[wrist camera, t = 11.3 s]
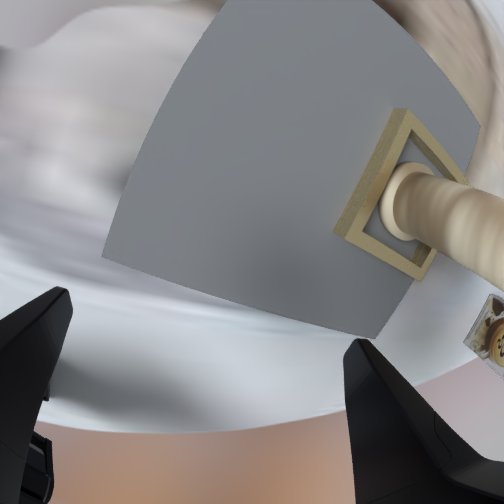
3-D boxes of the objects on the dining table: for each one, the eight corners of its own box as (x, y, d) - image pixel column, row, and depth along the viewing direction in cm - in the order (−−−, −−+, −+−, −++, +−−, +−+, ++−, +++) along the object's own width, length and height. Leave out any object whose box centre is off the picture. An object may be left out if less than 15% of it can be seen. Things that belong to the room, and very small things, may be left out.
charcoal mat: (370, 334, 25) (374, 339, 25) (104, 251, 16) (101, 256, 15) (474, 125, 20) (480, 126, 19) (275, -53, 10) (279, -59, 10)
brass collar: (409, 274, 23) (420, 281, 21) (332, 231, 19) (343, 239, 17) (456, 178, 20) (468, 182, 19) (393, 108, 16) (407, 108, 15)
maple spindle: (398, 250, 21) (512, 330, 10) (364, 199, 18) (515, 275, 8) (438, 200, 20) (553, 254, 10) (411, 145, 18) (555, 184, 7)
